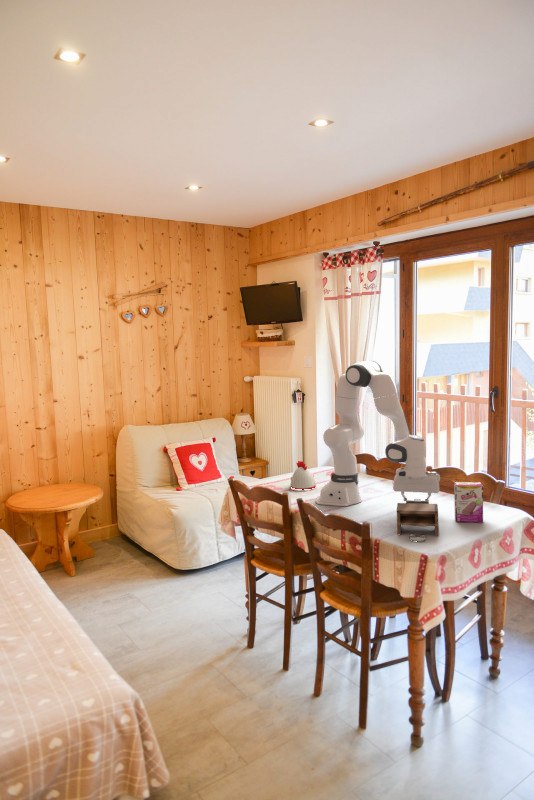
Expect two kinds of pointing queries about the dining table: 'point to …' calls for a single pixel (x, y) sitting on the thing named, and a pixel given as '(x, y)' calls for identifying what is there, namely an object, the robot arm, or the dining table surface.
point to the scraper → (417, 501)
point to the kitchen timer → (302, 478)
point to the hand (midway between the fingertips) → (416, 501)
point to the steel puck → (418, 537)
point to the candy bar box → (468, 501)
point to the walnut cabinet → (417, 515)
